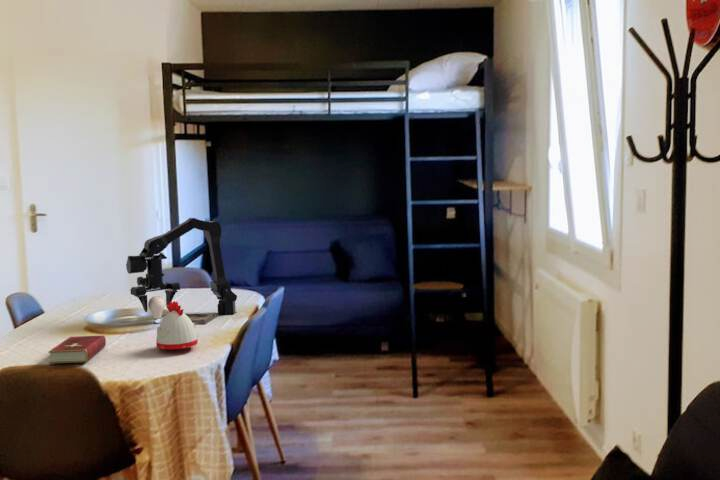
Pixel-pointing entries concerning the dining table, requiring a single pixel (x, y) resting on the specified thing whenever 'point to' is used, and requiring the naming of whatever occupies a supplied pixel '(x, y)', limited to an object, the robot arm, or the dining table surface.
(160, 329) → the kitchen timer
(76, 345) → the hardcover book
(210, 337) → the dining table surface
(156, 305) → the light bulb
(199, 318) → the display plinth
